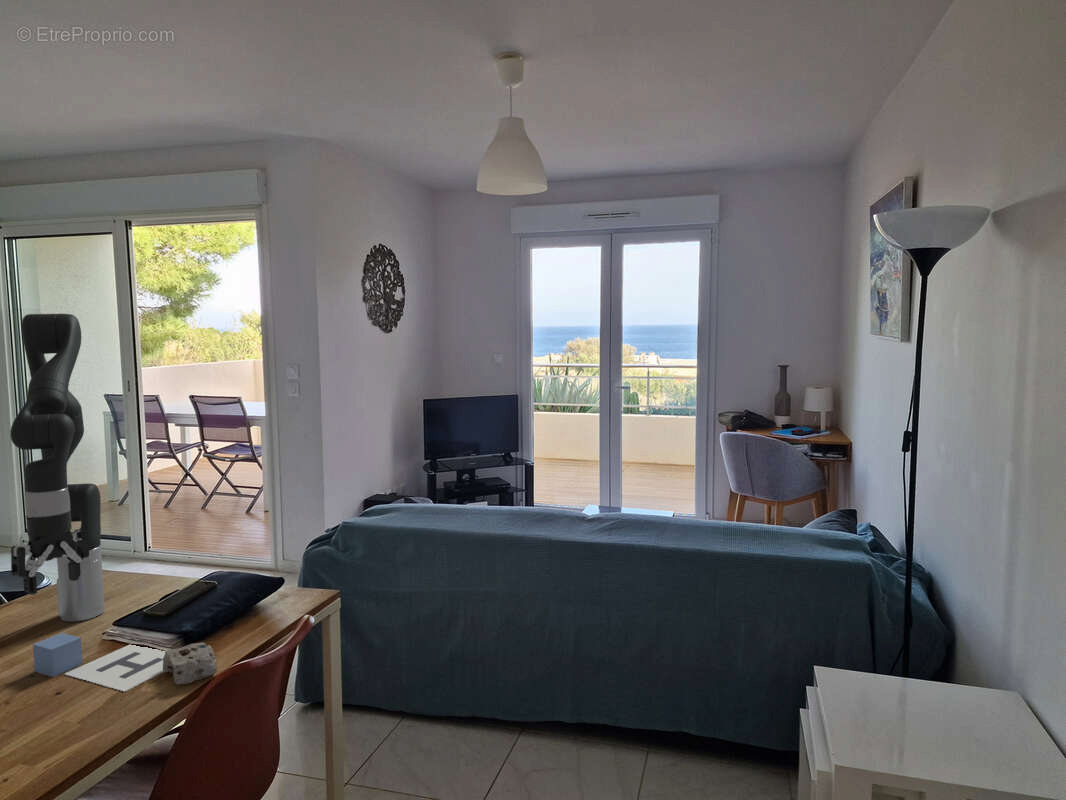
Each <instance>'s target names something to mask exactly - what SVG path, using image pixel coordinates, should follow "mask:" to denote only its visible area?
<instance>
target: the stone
mask: <svg viewBox="0 0 1066 800" xmlns="http://www.w3.org/2000/svg"><path fill="white" fill-rule="evenodd" d="M165 650H166V651H165V656H164V657H163V671H165V672H164V673H173V674H172V678H173V681H174V684H175V685H177V686H179V685H184V684H190V683H193V682H195V681H196V680H197V681H200V680H202V679H204V678H207V677H210V676H213V675H214V674H216V673H217V672H218V664H217V662H218V660H217V658H216V656H215V653H214V650H213V648H212V646H211V645H209V644H208V645H207V643H205V642H202V641H201V642H198V643H197V642H196V643H190V644H188V645H184V646H182V647H179V648H174V649H165Z"/></svg>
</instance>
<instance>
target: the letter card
mask: <svg viewBox="0 0 1066 800" xmlns="http://www.w3.org/2000/svg"><path fill="white" fill-rule="evenodd" d="M131 644H132V643H130V644H127V645H126V646H122V647H121V648H119V649H117V650H114V651H112V652H110V653H108V654H106V655H103V656H101V657H98V658H97V659H94V660H92V661H90V662H88V663H86V664H82V665H80V666H78V667H76V668H74V669H71V670H69V671H67V672H64V673H63V674H64V676H67V677H70V676H71V678H74V677H75V679H77V678H78V680H81V679H82V680H81V681H84V680H86V681H85V682H88V681H89V682H88V683H91V682H92V684H95V683H96V684H95V685H98V684H99V686H101V685H102V687H105V688H109V689H112V688H113V689H112V690H115V689H116V691H119V690H120V691H119V692H122V691H123V693H126V692H128V691H129V690H131V689H134V688H135V686H136V687H138V686H140V685H142V684H143V682H144V683H146V682H148V681H150V680H151V679H153V678H155V677H157V676H159V675H162V674H163V673H166V672H165V671H163V657H164V656H165V651H161V650H158V649H152V648H148V647H140V646H136V645H131ZM149 679H150V680H149ZM147 680H148V681H147ZM145 681H146V682H145ZM141 683H142V684H141ZM139 684H140V685H139ZM125 691H126V692H125Z"/></svg>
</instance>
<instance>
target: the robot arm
mask: <svg viewBox="0 0 1066 800" xmlns="http://www.w3.org/2000/svg"><path fill="white" fill-rule="evenodd" d="M81 329H82V328H81V324H80V321H79V319H78V318H77V316H75V314H70V313H29V314H25V315H24V316H23V318H22V320H21V335H22V340H23V347H24V351H25V356H26V360H27V365H28V369H29V375H30V380H29V383H28V389H27V395H26V401H25V403H24V405H22V406H23V407H22V408H21V409H20V411H19V412H18V414H17V415H16V417H15V418H14V420H13V422H12V425H11V426H10V427H11V428H10V433H9V434H10V441H11V442H12V444H13V445H14V446H15V447H17V449H20V450H24V451H25V450H26V451H28V450H32V451H33V450H40V453H41V458H40V459H37V460H34V461H31V462H29V463H27V464H26V465H25V467H24V479H25V493H26V494H25V500H24V501H25V502H24V503H25V516H26V517H25V518H26V534H27V537H28V542H27V544H24V545H20V546H19V545H12V547H11V549H10V554H11V555H10V556H11V557H10V567H11V568H10V571H11V573H10V574H11V575H12V576H15V577H19V578H22V579H23V582H22V583H23V590H24V592H25V593H27V595H31V596H33V595H36V594H38V585H37V576H36V573H37V572H38V571H39V568H41V567H42V566H43V564H44V563H45V562H49V561H51V560H54V559H56V563H57V579H56V591H57V592H56V594H57V607H58V609H57V610H58V617H60V620H61V621H62V622H63V621H64V622H81V621H86V620H90V619H94V618H96V616H97V617H98V615H99V616H101V615H102V614H103V613H105V595H104V578H103V562H102V561H103V559H102V558H103V557H102V544H101V535H102V534H101V533H102V526H101V525H102V522H101V492H100V489H99V487H98V486H97V485H96V484H95V483H71V484H68V472H67V471H68V469H67V467H68V463H69V460H70V459H71V456H72V455H73V453H74V452H75V450H76V449H77V447H78V445H79V444H80V442H81V441H82V438H83V437H84V434H85V425H84V424H85V423H84V417H83V409H82V406H81V403H80V402H79V400H78V399H77V398H76V397H75V396H74V394H73V393H72V392H71V391H70V390H69V386H70V380H71V376H72V374H73V372H74V371H73V370H74V368H75V365H76V363H77V359H78V356H79V354H80V349H81V344H82V330H81ZM48 354H51V355H52V354H54V355H53V356H52V358H50V359H49V360H48V361H47V359H46V355H48ZM72 522H73V523H74V522H80V528H78V529H74V531H73V532H72V531H71V530H72V527H73V525H72ZM28 552H30V554H29V556H28ZM27 556H28V557H27ZM26 557H27V559H26ZM36 559H37V560H36ZM100 614H101V615H100Z"/></svg>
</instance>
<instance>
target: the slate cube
mask: <svg viewBox="0 0 1066 800" xmlns="http://www.w3.org/2000/svg"><path fill="white" fill-rule="evenodd" d="M32 650H33V664H34V665H33V666H34V673H37V672H38V674H41V673H42V675H44V674H45V675H44V676H47V675H49V676H48V677H51V676H52V677H51V678H55V677H58V676H60V675H61V673H62V674H65V673H67V672H69V671H72V670H74V669H76V668H78V667H80V666H82V665H83V652H82V651H83V650H82V638H81V637H78V636H76V635H71V634H67V633H64V632H61V633H59V634H56V635H53V636H52V637H48V638H46V639H43V640H41V641H38V642H36V643H33V644H32ZM81 664H82V665H81ZM79 665H80V666H79ZM77 666H78V667H77ZM75 667H76V668H75ZM73 668H74V669H73ZM68 670H69V671H68ZM66 671H67V672H66ZM59 674H60V675H59ZM57 675H58V676H57ZM54 676H55V677H54Z"/></svg>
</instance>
